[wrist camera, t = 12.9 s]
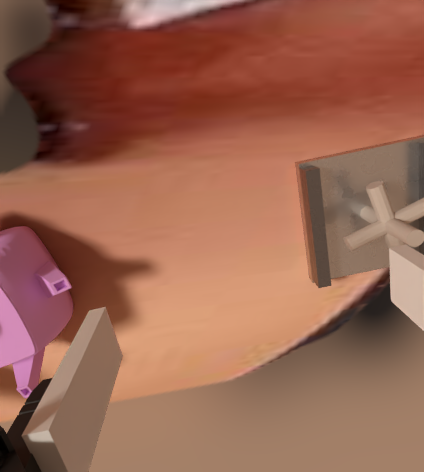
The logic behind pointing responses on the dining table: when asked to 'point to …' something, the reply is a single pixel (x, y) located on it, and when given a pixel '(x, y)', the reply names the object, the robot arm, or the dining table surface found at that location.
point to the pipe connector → (387, 221)
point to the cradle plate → (355, 204)
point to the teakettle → (29, 304)
